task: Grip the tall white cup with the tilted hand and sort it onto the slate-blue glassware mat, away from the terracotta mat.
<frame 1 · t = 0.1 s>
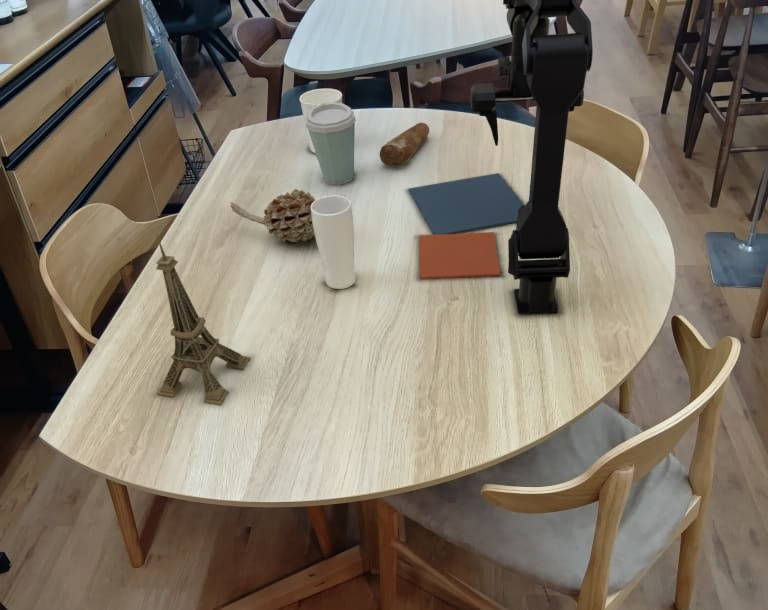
hand: (522, 143, 121), 15 cm above the table, tool pointing down, fingers open, 9 cm apart
tall white cup: (341, 282, 118), on the table
glassware mat: (468, 204, 135), on the table
eiffel tower: (205, 377, 102), on the table
bread: (406, 153, 155), on the table
pine cone: (281, 238, 131), on the table
disposable coffee cup: (337, 179, 148), on the table
terracotta mat: (458, 255, 122), on the table
cream paper cup: (327, 148, 160), on the table
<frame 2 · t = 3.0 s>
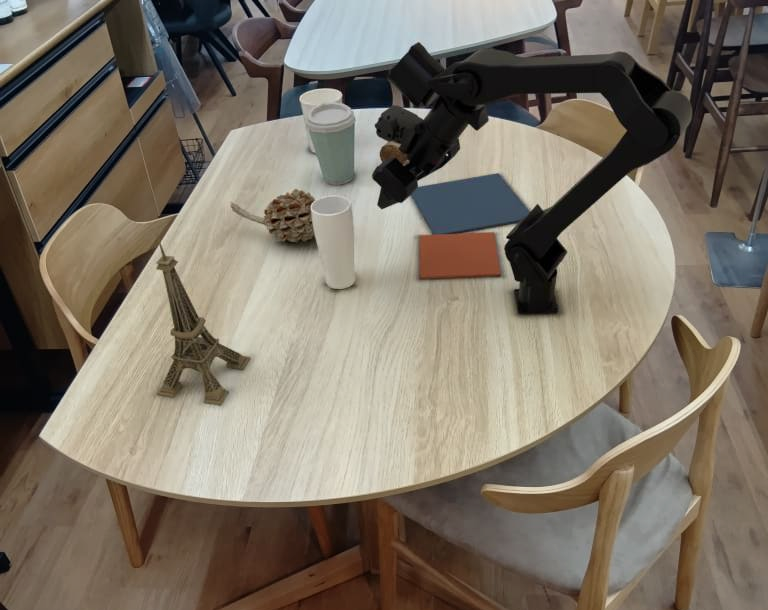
hand: (394, 194, 111), 14 cm above the table, tool tilted 35°, fingers open, 9 cm apart
nothing on the table moved.
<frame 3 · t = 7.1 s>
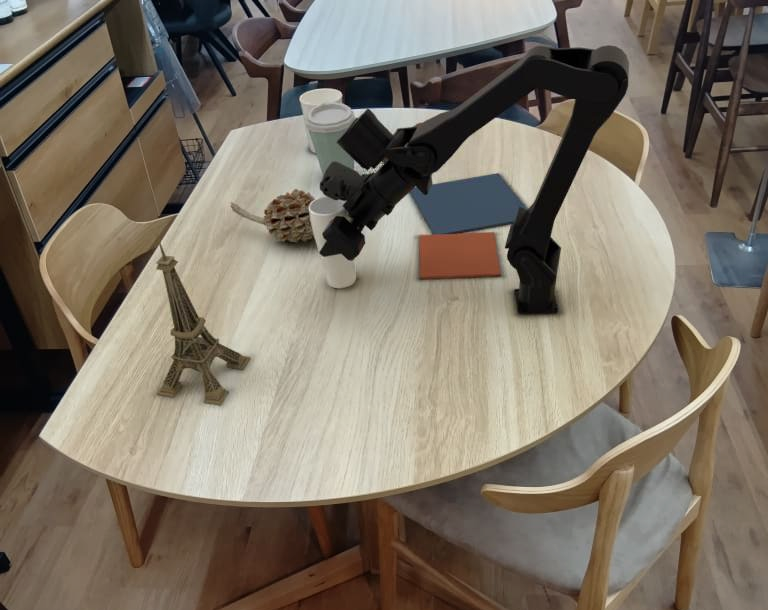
hand: (328, 243, 113), 8 cm above the table, tool tilted 45°, fingers closed on tall white cup, 6 cm apart
tall white cup: (342, 282, 118), on the table, touching gripper
everything else where it was.
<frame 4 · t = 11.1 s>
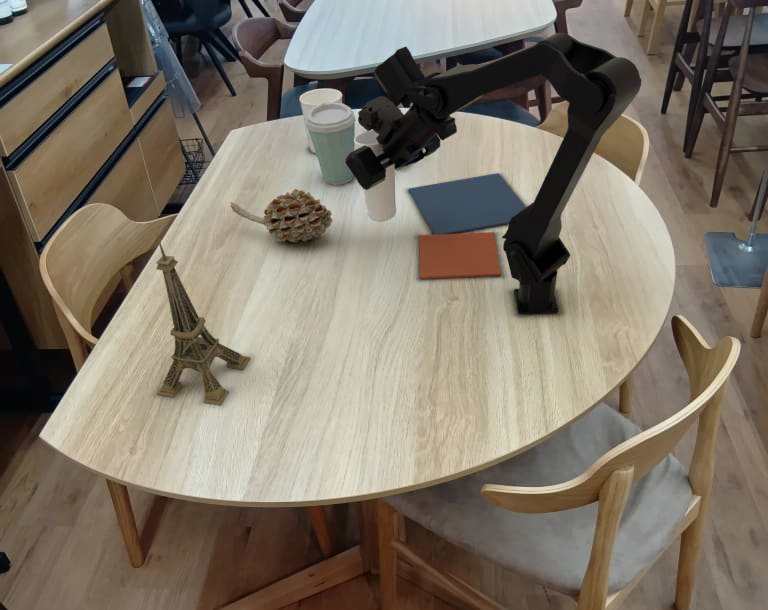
hand: (372, 176, 120), 12 cm above the table, tool tilted 45°, fingers closed on tall white cup, 6 cm apart
tall white cup: (382, 216, 125), point 5 cm above the table, touching gripper
everything else where it was.
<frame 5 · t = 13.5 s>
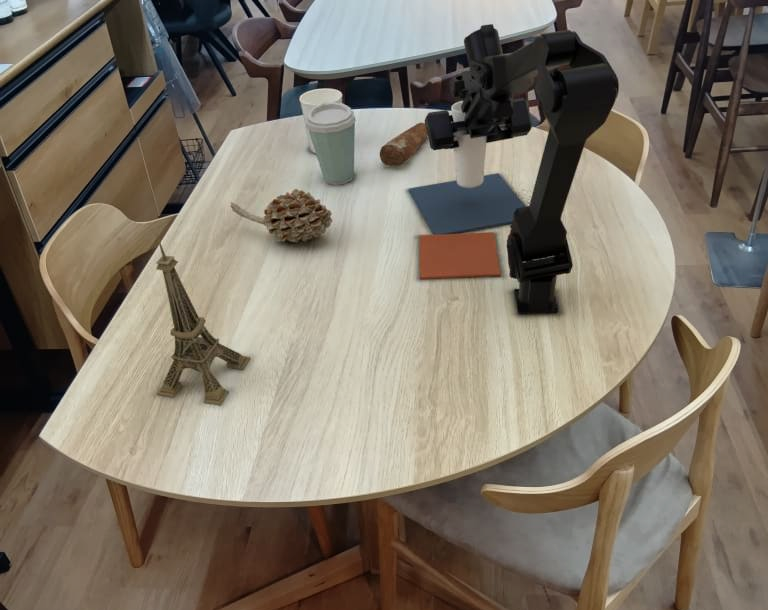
hand: (467, 143, 128), 12 cm above the table, tool tilted 45°, fingers closed on tall white cup, 6 cm apart
tall white cup: (470, 184, 132), point 5 cm above the table, touching gripper
everything else where it was.
when the fingers open (8 cm above the table, at t = 15.4 s): tall white cup stays where it is, resting on glassware mat.
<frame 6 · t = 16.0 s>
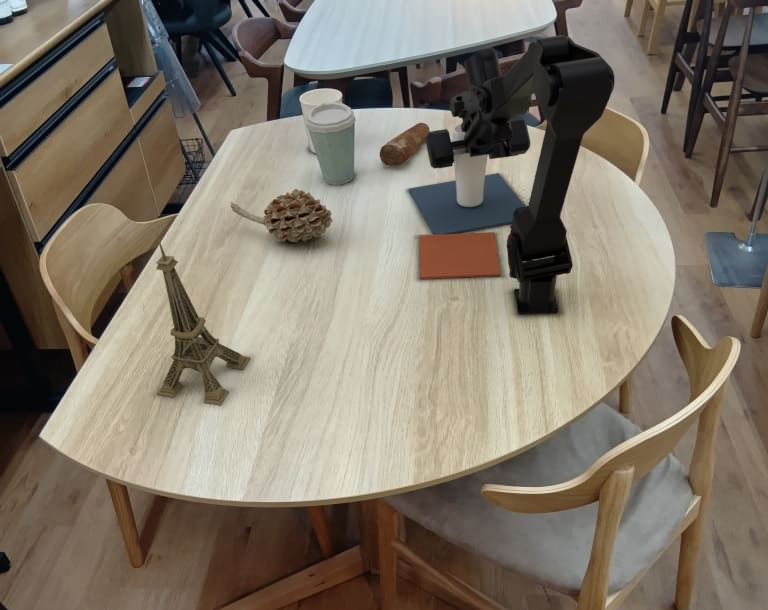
hand: (467, 160, 130), 9 cm above the table, tool tilted 45°, fingers open, 9 cm apart
tall white cup: (469, 203, 135), resting on glassware mat
everything else where it was.
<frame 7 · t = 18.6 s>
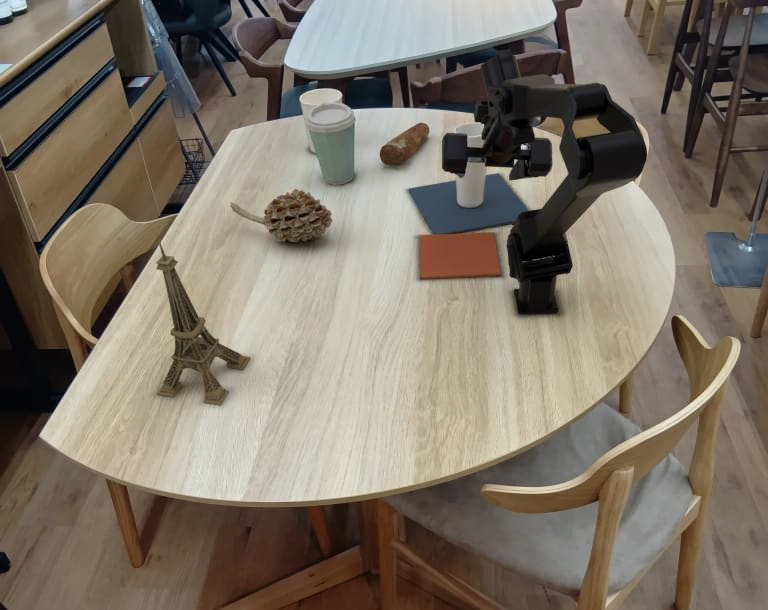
hand: (485, 176, 122), 10 cm above the table, tool tilted 40°, fingers open, 9 cm apart
nothing on the table moved.
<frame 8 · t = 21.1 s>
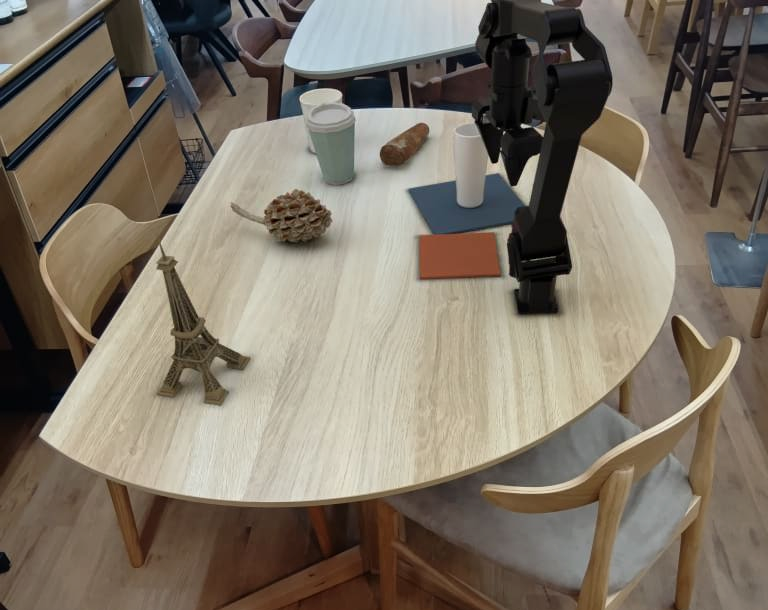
hand: (503, 174, 116), 13 cm above the table, tool pointing down, fingers open, 9 cm apart
nothing on the table moved.
at the end: tall white cup inside the target area on the glassware mat (0.4 cm from its centre), point 0.3 cm above the glassware mat's base; tall white cup tilted 0°; the gripper is holding nothing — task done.
